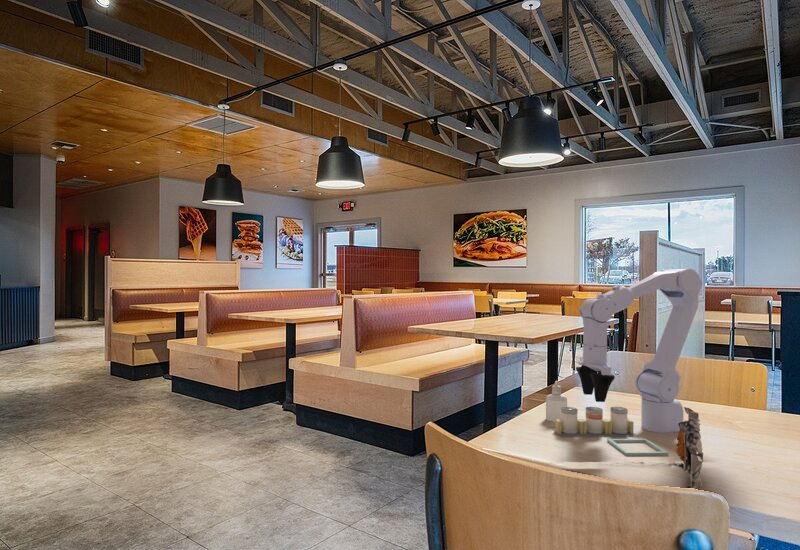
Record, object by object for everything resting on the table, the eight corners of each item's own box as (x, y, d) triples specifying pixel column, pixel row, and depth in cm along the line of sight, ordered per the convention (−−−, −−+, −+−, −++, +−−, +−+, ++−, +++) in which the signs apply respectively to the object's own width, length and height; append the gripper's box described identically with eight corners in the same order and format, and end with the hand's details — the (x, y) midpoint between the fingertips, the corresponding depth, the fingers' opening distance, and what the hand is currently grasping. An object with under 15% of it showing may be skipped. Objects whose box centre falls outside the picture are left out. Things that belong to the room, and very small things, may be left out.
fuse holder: (624, 431, 132) (624, 415, 132) (640, 441, 124) (640, 424, 124) (550, 431, 132) (550, 416, 132) (561, 442, 124) (561, 425, 124)
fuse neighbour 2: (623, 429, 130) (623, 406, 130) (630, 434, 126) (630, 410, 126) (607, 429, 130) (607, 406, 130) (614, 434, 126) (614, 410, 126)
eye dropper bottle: (562, 427, 135) (562, 383, 135) (543, 423, 139) (543, 380, 139) (569, 424, 138) (569, 381, 138) (550, 420, 142) (550, 378, 142)
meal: (674, 465, 109) (674, 405, 109) (697, 469, 107) (697, 408, 107) (677, 492, 95) (677, 424, 95) (703, 496, 93) (704, 427, 93)
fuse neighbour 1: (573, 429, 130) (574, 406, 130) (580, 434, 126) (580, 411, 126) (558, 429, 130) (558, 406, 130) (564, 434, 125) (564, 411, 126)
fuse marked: (598, 429, 130) (598, 406, 130) (605, 434, 126) (605, 410, 126) (583, 429, 130) (583, 406, 130) (589, 434, 126) (589, 411, 126)
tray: (646, 446, 121) (646, 438, 121) (668, 460, 111) (668, 452, 111) (607, 446, 121) (607, 438, 121) (626, 461, 111) (626, 453, 111)
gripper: (569, 341, 135) (568, 391, 135) (591, 348, 121) (590, 404, 120) (594, 341, 135) (593, 391, 135) (619, 349, 121) (618, 405, 121)
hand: (593, 397), depth 128 cm, fingers open, 7 cm apart
